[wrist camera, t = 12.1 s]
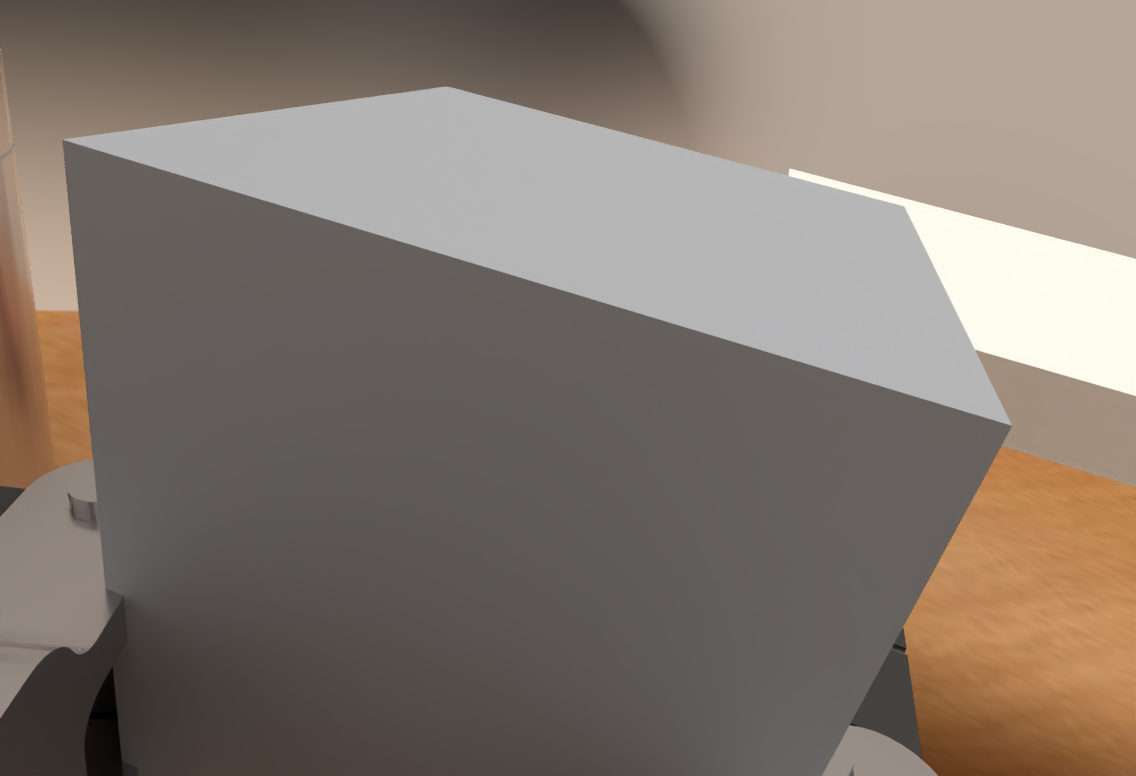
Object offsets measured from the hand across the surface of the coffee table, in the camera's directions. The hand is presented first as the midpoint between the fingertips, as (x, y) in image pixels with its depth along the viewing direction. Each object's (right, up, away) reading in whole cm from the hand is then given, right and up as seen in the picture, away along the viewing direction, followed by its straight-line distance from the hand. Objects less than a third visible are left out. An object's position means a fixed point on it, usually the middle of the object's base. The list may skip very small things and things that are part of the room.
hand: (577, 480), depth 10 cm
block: (-2, -7, +1) cm, 7 cm away
